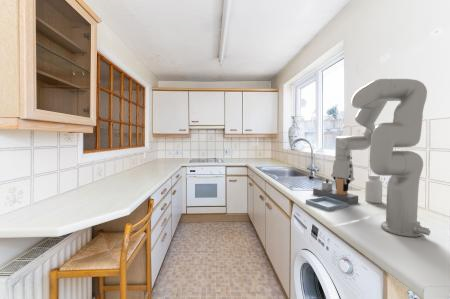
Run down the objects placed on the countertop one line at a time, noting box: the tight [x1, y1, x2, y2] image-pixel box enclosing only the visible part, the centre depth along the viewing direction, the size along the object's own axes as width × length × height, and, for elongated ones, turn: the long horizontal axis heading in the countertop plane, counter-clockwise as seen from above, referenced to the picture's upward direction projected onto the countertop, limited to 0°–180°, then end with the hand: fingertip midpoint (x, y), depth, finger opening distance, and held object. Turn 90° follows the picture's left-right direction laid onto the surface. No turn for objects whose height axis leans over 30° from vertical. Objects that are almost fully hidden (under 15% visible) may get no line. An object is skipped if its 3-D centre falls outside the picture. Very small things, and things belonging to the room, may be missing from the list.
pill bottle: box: [364, 174, 383, 204], centre depth 124 cm, size 8×8×15 cm
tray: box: [305, 196, 349, 212], centre depth 117 cm, size 15×15×3 cm
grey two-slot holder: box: [312, 186, 359, 205], centre depth 129 cm, size 24×8×4 cm, turn 25°
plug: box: [335, 178, 348, 195], centre depth 124 cm, size 4×4×11 cm
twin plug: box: [321, 178, 333, 191], centre depth 134 cm, size 4×4×11 cm
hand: (341, 189), depth 125 cm, fingers closed on plug, 4 cm apart
